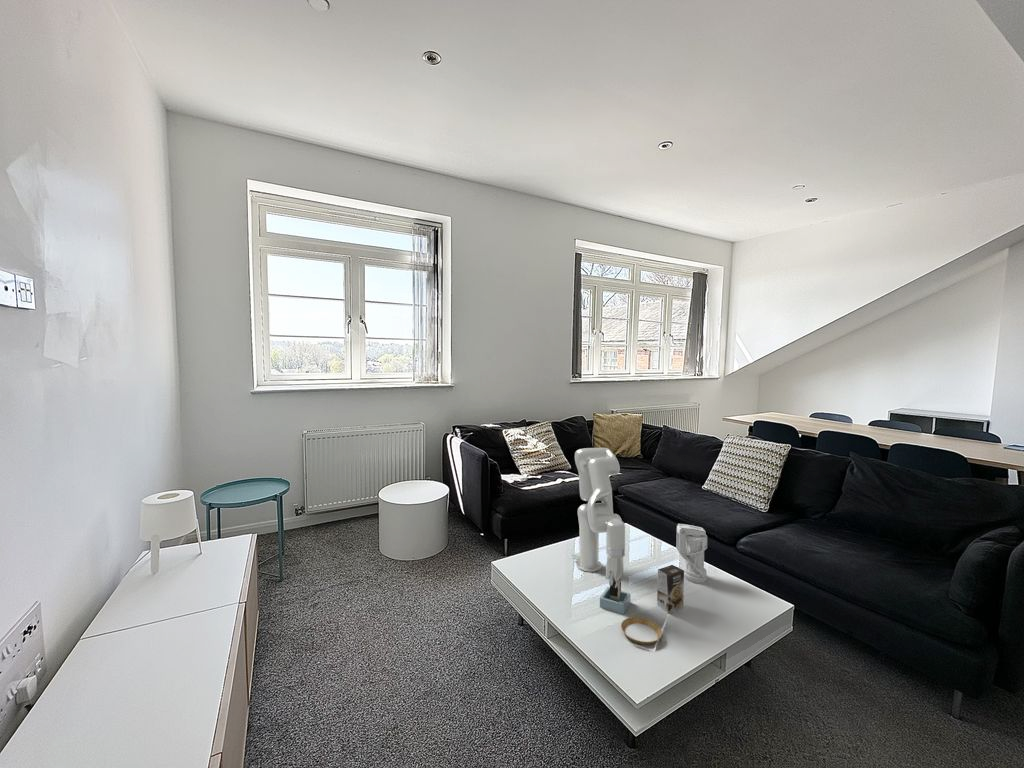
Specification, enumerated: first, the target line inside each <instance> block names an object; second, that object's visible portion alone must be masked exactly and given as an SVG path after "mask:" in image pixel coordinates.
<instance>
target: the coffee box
mask: <svg viewBox="0 0 1024 768" xmlns="http://www.w3.org/2000/svg"><path fill="white" fill-rule="evenodd" d="M656 585H657V586H656V590H657V593H656V594H657V596H656V597H657V599H656V606H657V607H659V608H661V609H662V610H664V611H665V612H666V613H667V614H671V613H674V612H677V611H679V610H681V609H684V600H685V599H684V595H685V578H684V570H683V569H682V568H680V567H679V566H676V565H674V564H671V565H667V566H664V567H661V568H658V569H657V584H656Z"/></svg>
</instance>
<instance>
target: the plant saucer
mask: <svg viewBox="0 0 1024 768" xmlns="http://www.w3.org/2000/svg"><path fill="white" fill-rule="evenodd" d="M632 624H633V625H634V624H640V625H645V626H648V627H649V628H651V629H653V630H654V631H655V632H656V634H657V635H656V636H657V639H655V640H651V641H643V640H638V639H635V638H633V637H630V635H628V634H627V633H626V628H627V627H628V626H629V625H632ZM620 628H621V631H622V633H623V634H624V635H625V636H626V637H627V638H628V639H629V640H630V641H632V642H634V643H637V644H640V645H651V644H654V643H656V642H658V641H659V640H660V639H661V638H662V635H663V631H662V629H661V627H660V626H659V625H658V624H657V623H656V622H654V621H652V620H651V619H648V618H646V617H645V618H644V617H641V616H640V617H639V616H631V617H627V618H625V619H623V620H622V622H621V624H620Z"/></svg>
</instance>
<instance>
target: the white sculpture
mask: <svg viewBox="0 0 1024 768" xmlns="http://www.w3.org/2000/svg"><path fill="white" fill-rule="evenodd" d="M706 533H707V532H706V530H705V529H704V528H703V527H701V526H695V525H692V524H691V525H690V524H685V523H677V525H676V550H677V551H678V553H679V555H680V557H682V558H683V559H684V560H685V565H684V567H683V569H682V570H684V580H686V581H688V582H691V583H693V584H703V583H705V582H706V580H708V576H707V573H708V572H707V569H706V568H705V551H706V550H707V549H708V535H707V534H706Z"/></svg>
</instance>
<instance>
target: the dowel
mask: <svg viewBox="0 0 1024 768" xmlns="http://www.w3.org/2000/svg"><path fill="white" fill-rule="evenodd" d="M613 579H614V578H613ZM613 583H615V581H613ZM617 587H618V596H617V597H615V596H612V595H611V600H613V601H616V602H619V603H620V578H619V580H618V581H617Z"/></svg>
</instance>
